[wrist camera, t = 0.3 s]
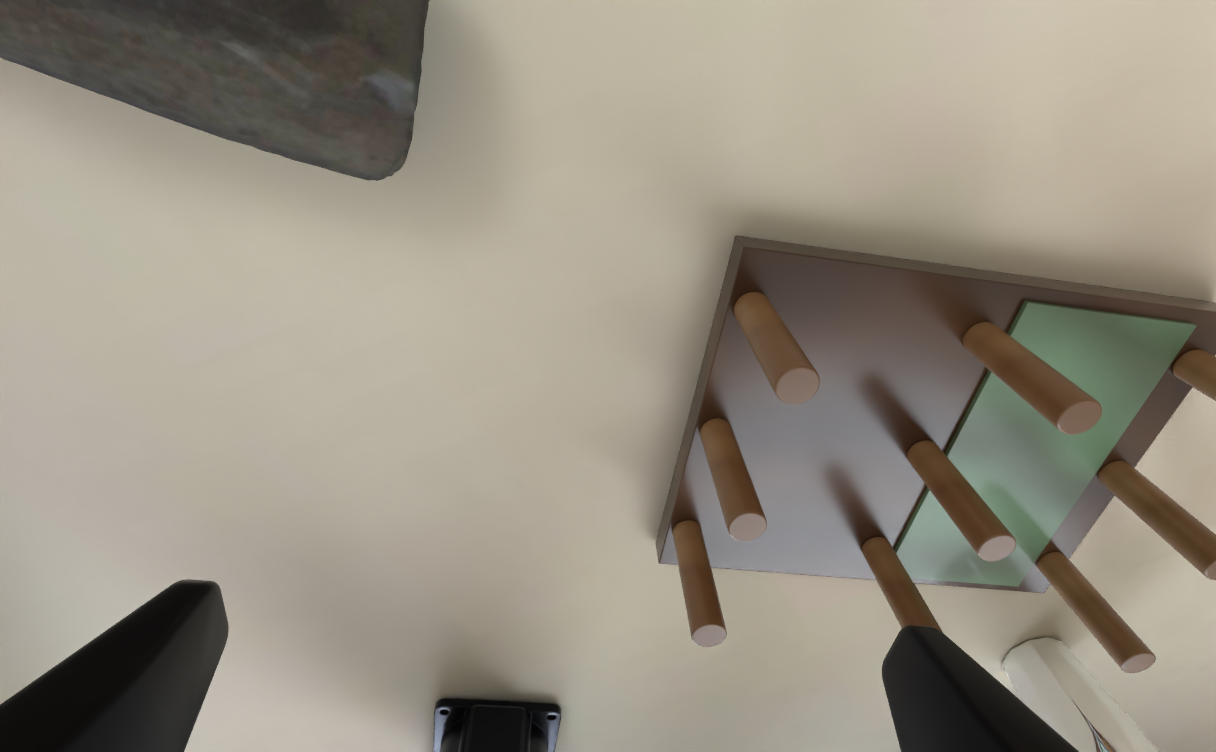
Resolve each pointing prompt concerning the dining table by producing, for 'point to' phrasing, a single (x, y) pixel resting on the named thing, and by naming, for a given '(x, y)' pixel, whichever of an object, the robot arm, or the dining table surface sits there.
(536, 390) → the dining table surface
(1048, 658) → the milkshake
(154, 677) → the robot arm
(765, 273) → the plate rack
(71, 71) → the decorative stone
